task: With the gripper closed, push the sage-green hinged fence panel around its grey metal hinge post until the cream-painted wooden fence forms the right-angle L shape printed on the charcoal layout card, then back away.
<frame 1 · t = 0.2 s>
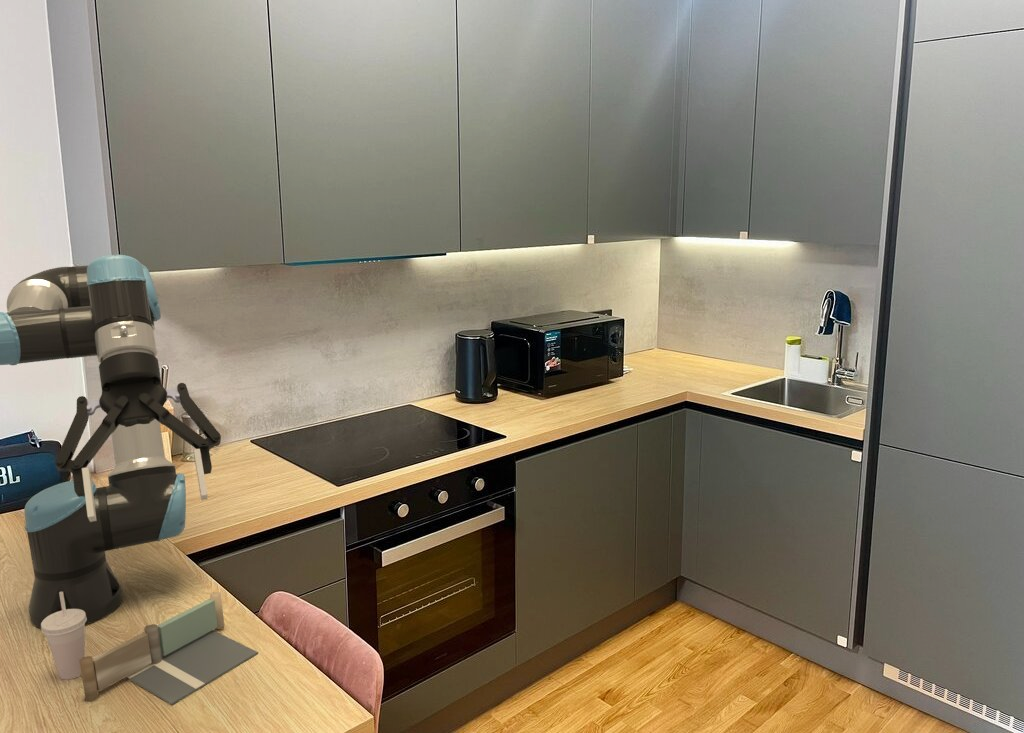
hand: (149, 508, 107), 35 cm above the table, tool tilted 35°, fingers open, 13 cm apart
layout card: (179, 657, 135), on the table
gate panel: (192, 623, 139), point 4 cm above the table, hinge at 0.0°
smoothie: (72, 673, 132), on the table
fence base: (155, 662, 134), on the table
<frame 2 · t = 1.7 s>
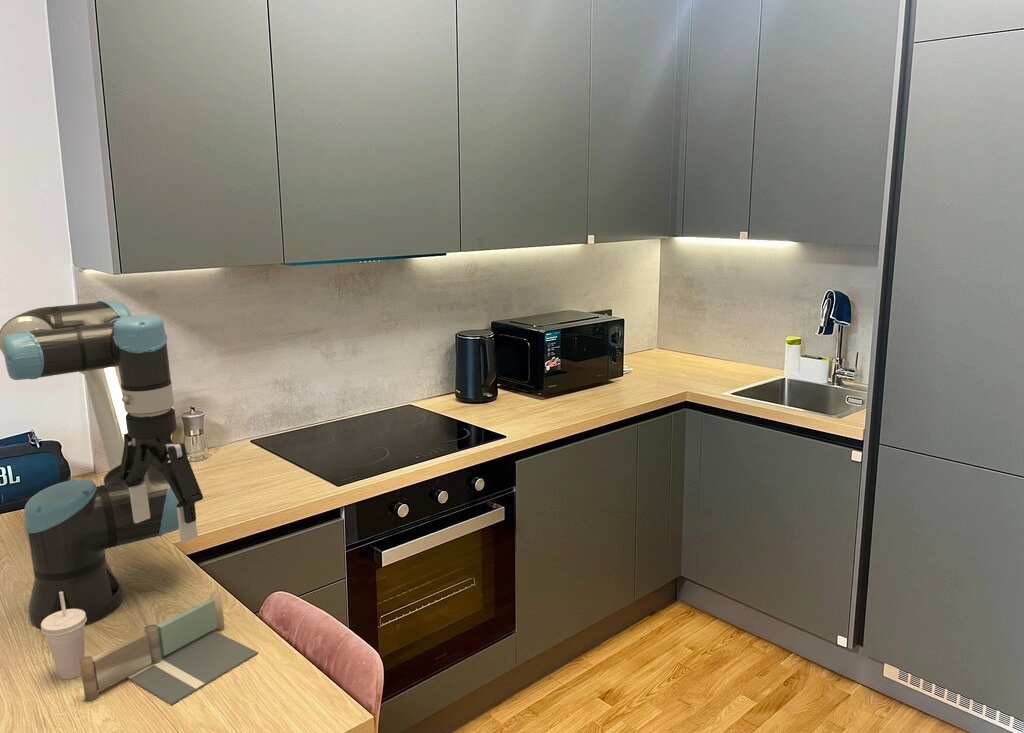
hand: (165, 529, 140), 19 cm above the table, tool pointing down, fingers open, 13 cm apart
nothing on the table moved.
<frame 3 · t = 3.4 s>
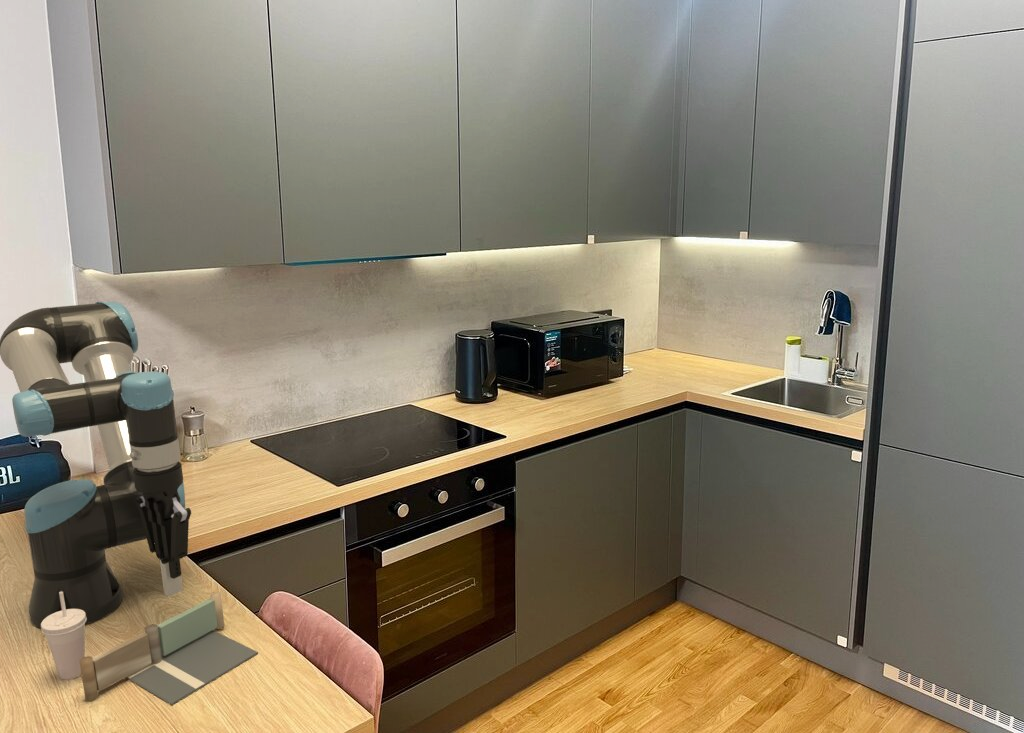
hand: (173, 592, 143), 7 cm above the table, tool pointing down, fingers closed
nothing on the table moved.
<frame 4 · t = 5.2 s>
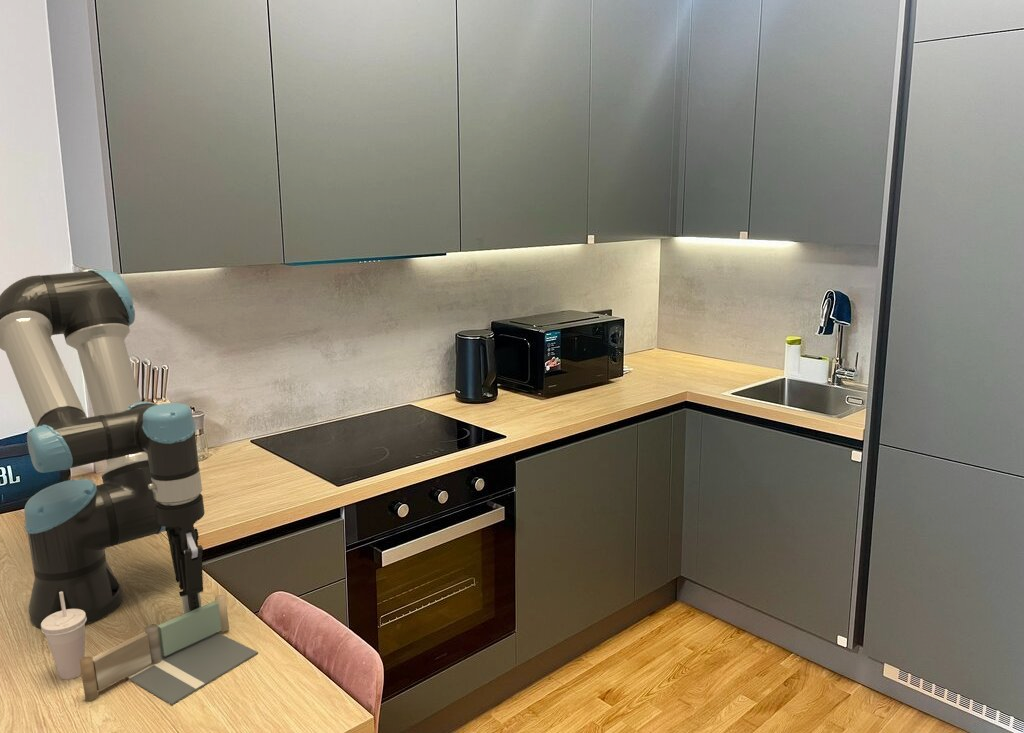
hand: (194, 624, 141), 2 cm above the table, tool pointing down, fingers closed
gate panel: (194, 625, 138), point 4 cm above the table, hinge at 6.8°, touching gripper
everything else where it was.
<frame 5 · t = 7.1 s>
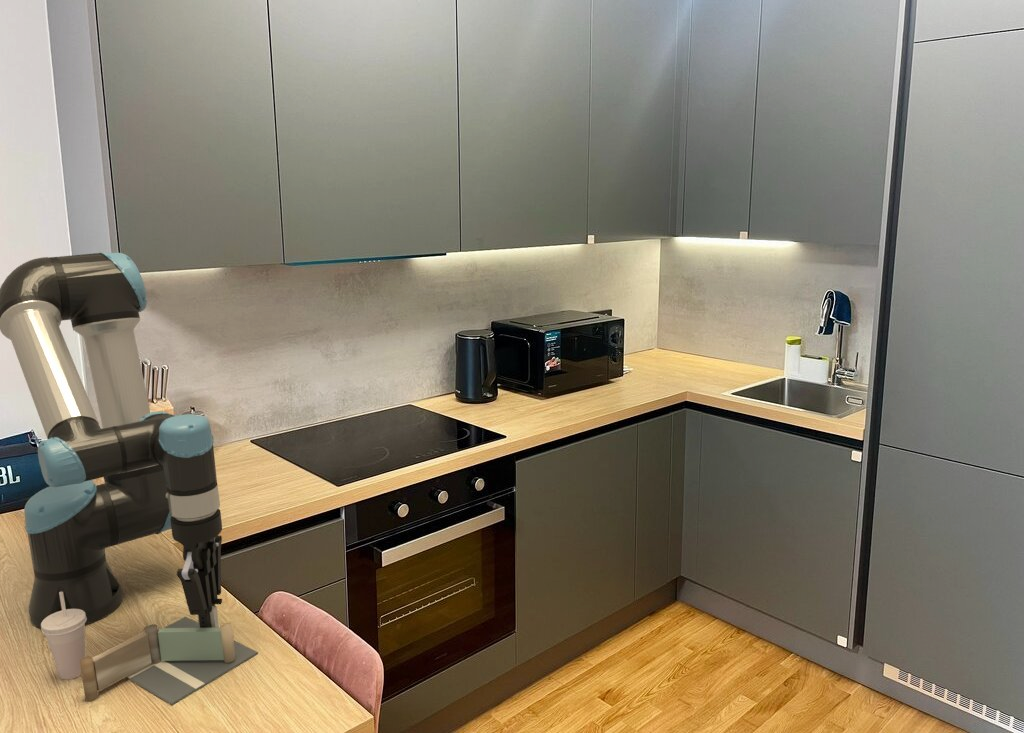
hand: (210, 643, 136), 2 cm above the table, tool pointing down, fingers closed
gate panel: (197, 643, 133), point 4 cm above the table, hinge at 55.6°, touching gripper
everything else where it was.
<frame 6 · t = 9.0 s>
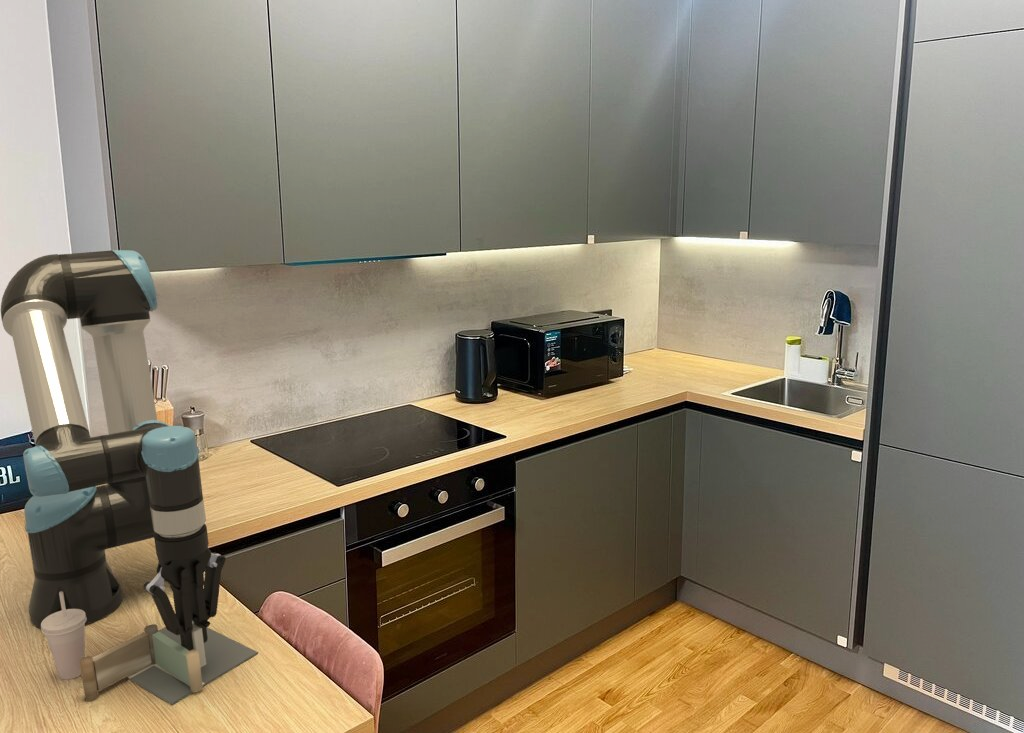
hand: (197, 663, 131), 2 cm above the table, tool pointing down, fingers closed
gate panel: (177, 659, 129), point 4 cm above the table, hinge at 93.6°, touching gripper
everything else where it was.
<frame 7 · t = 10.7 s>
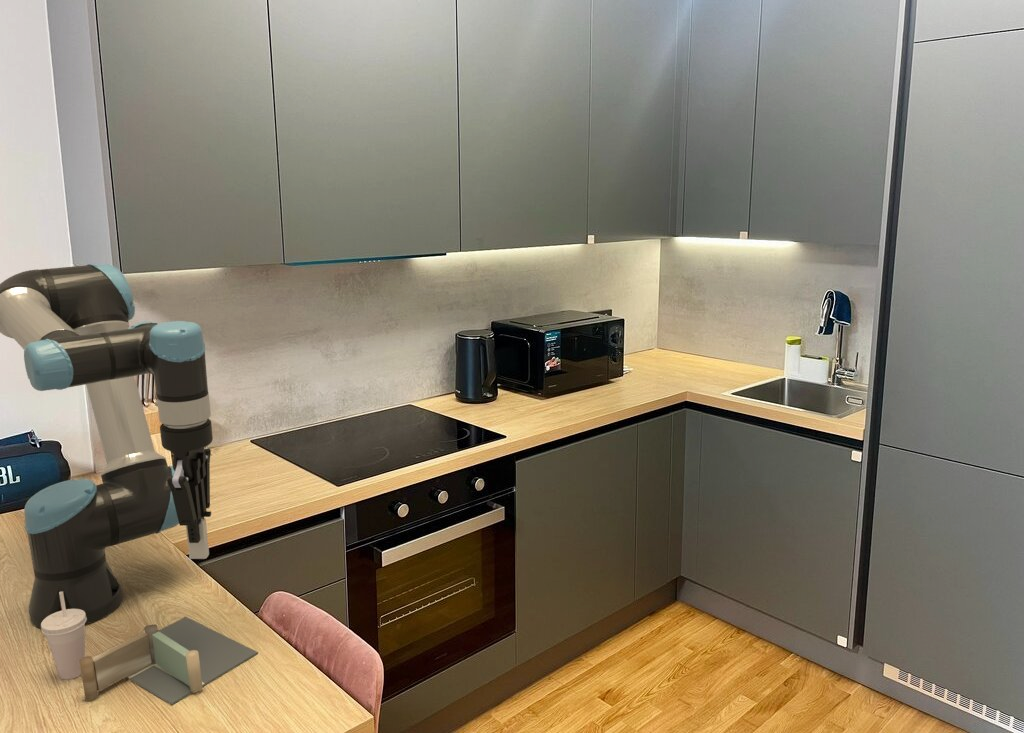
hand: (199, 556, 135), 17 cm above the table, tool pointing down, fingers closed
gate panel: (176, 659, 129), point 4 cm above the table, hinge at 93.8°
everything else where it was.
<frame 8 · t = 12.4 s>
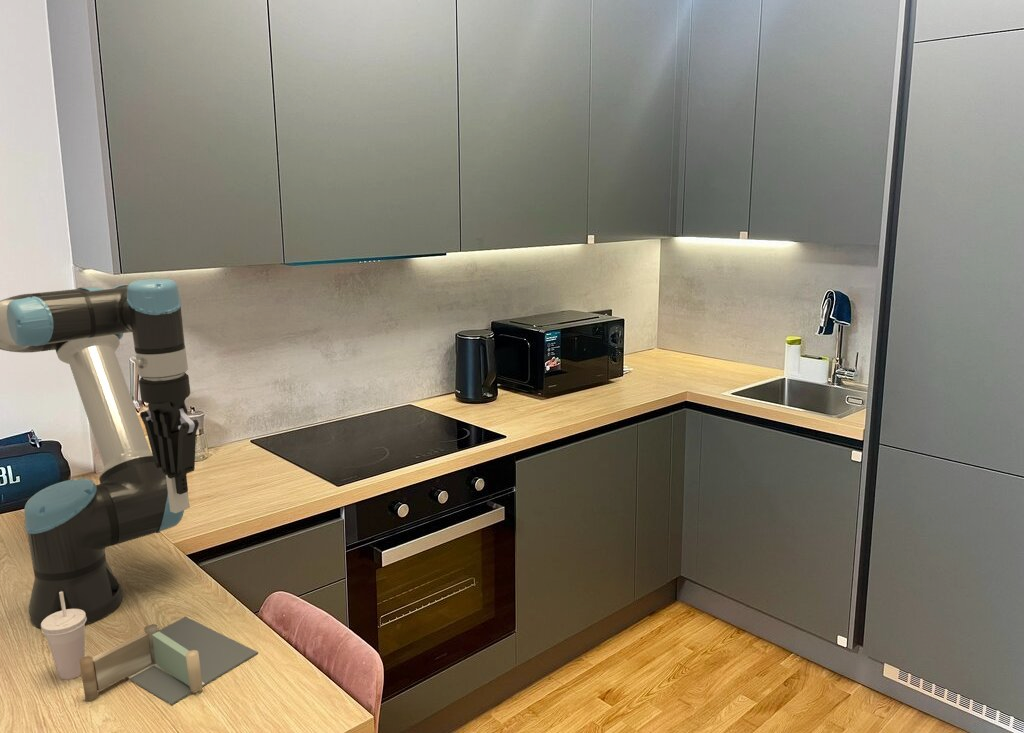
hand: (180, 509, 139), 22 cm above the table, tool pointing down, fingers closed
nothing on the table moved.
at the end: gate panel at +94° (first picture: +0°); smoothie moved 0.2 cm from its start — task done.
